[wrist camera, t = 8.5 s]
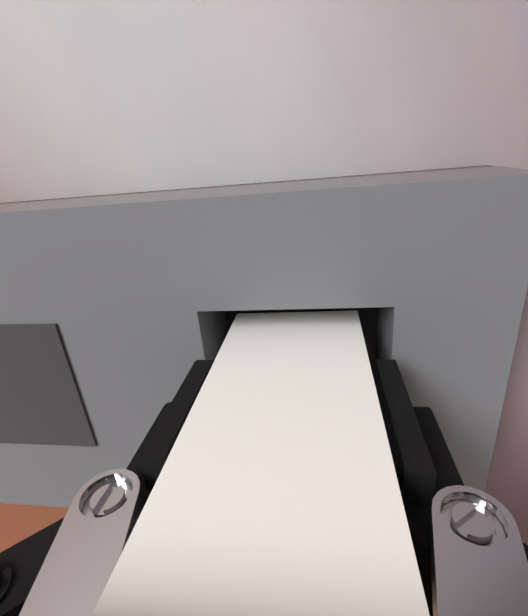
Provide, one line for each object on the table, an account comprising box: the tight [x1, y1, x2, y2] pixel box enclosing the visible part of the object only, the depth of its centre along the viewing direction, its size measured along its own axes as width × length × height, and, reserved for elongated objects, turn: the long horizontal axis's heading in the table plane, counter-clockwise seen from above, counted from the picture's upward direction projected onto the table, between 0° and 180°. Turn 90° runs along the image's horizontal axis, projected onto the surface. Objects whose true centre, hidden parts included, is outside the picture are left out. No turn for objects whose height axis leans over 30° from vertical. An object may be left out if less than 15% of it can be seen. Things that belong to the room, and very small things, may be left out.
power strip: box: [0, 165, 528, 508], centre depth 14 cm, size 12×22×4 cm, turn 95°
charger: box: [92, 311, 430, 616], centre depth 9 cm, size 4×4×9 cm
